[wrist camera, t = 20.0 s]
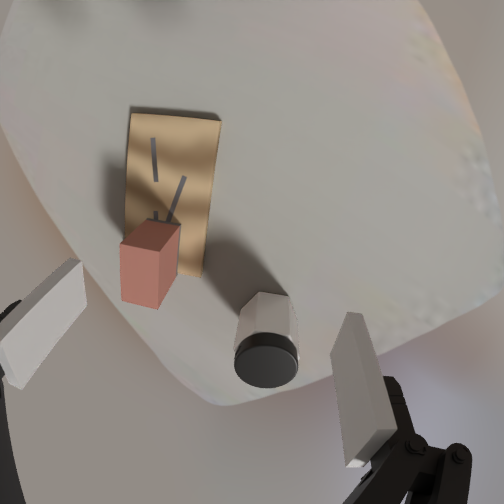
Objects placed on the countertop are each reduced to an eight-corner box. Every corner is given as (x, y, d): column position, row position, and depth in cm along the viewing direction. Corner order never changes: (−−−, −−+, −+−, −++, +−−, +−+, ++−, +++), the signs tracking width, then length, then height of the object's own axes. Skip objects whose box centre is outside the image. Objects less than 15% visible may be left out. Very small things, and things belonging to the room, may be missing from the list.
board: (135, 113, 38) (131, 113, 36) (221, 121, 38) (220, 121, 36) (128, 258, 47) (125, 262, 46) (202, 273, 47) (200, 277, 46)
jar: (233, 298, 48) (221, 351, 37) (284, 283, 47) (285, 335, 36) (254, 340, 52) (248, 395, 41) (302, 328, 50) (306, 383, 39)
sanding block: (147, 217, 43) (119, 243, 34) (181, 224, 43) (159, 252, 34) (145, 268, 46) (121, 300, 38) (177, 274, 46) (157, 309, 38)
